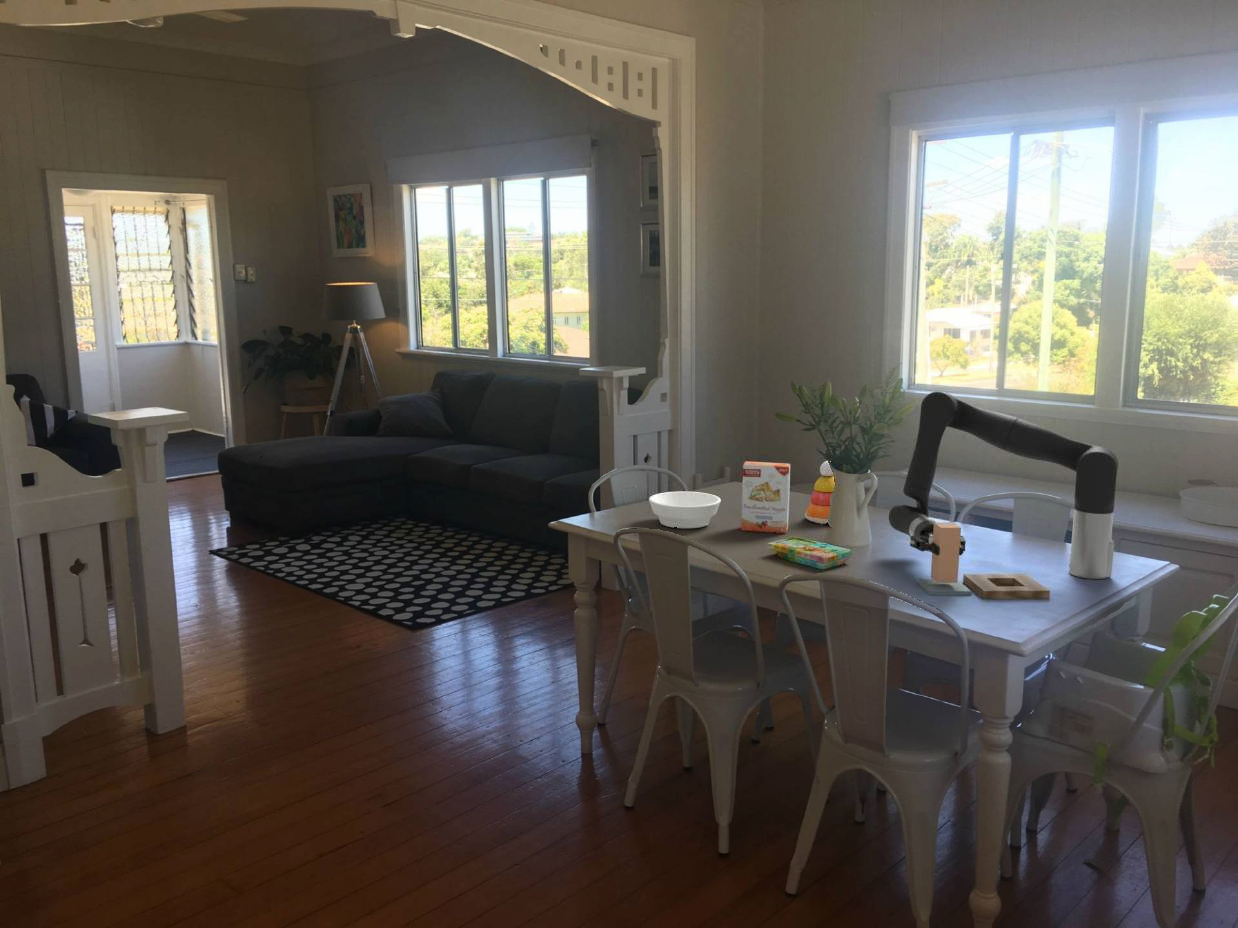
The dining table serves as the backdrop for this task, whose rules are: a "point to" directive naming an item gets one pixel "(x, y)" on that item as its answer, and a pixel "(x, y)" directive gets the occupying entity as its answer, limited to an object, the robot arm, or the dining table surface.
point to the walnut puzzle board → (1018, 587)
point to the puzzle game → (810, 552)
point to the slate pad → (943, 587)
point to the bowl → (684, 508)
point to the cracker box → (765, 497)
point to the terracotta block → (946, 553)
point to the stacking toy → (821, 496)
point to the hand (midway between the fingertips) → (949, 551)
